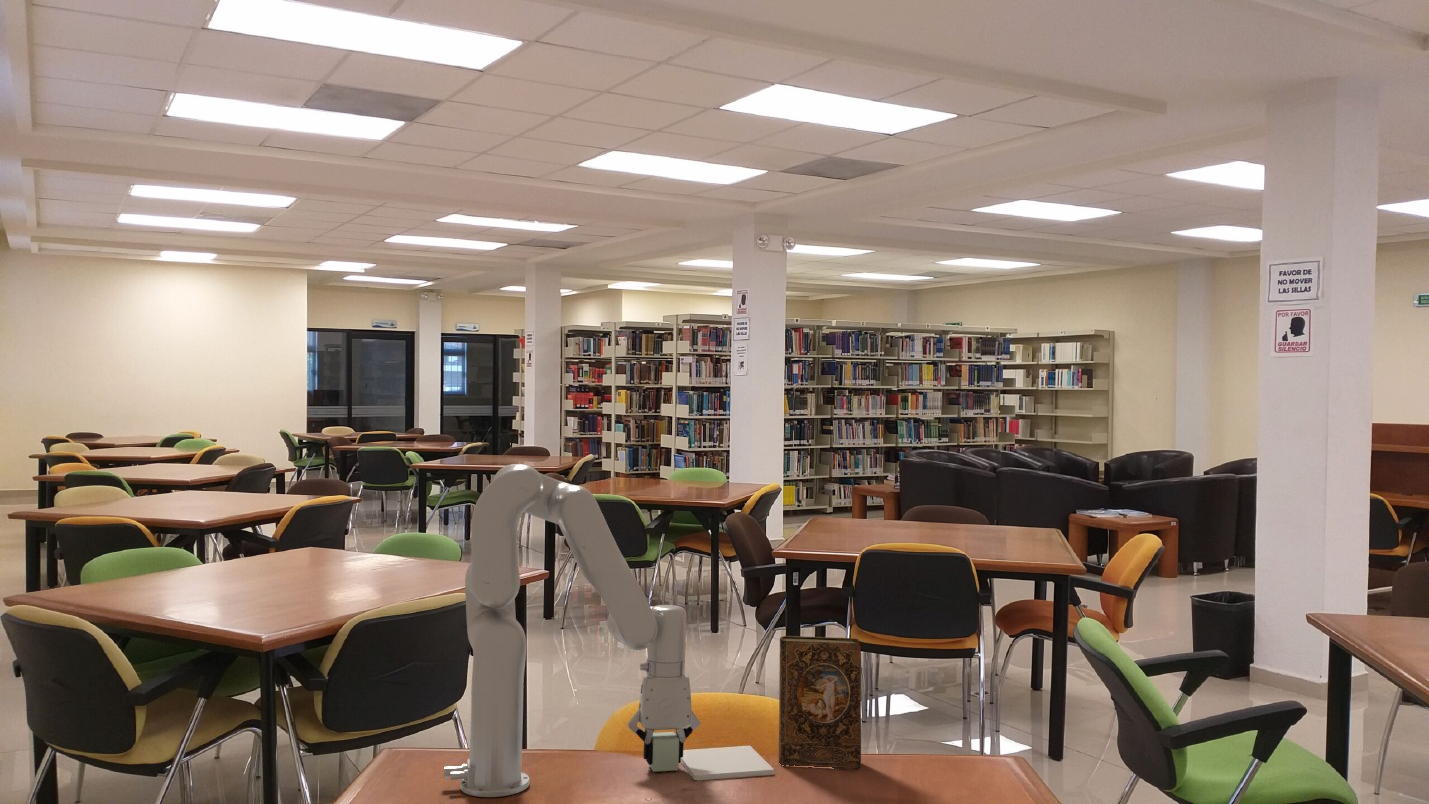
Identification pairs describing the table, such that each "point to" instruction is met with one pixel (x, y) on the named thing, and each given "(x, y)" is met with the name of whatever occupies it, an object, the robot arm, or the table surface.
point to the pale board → (725, 763)
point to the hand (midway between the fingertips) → (663, 761)
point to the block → (665, 751)
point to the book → (820, 702)
